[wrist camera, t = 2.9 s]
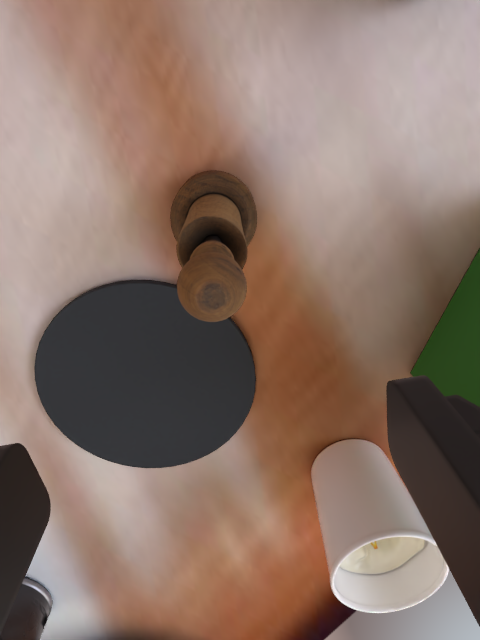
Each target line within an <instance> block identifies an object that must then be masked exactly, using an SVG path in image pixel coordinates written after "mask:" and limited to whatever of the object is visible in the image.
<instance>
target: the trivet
mask: <svg viewBox="0 0 480 640" xmlns="http://www.w3.org/2000/svg"><path fill="white" fill-rule="evenodd" d="M35 381H36V386H37V391H38V394H39V397H40V400H41V402H42V405H43V406H44V408H45V410H46V412H47V414H48V416H49V417H50V418H51V420H52V421H53V422H54V424H55V425H56V426H57V427H58V428H59V429H60V431H61V432H62V433H63V434H64V435H65V436H67V437H68V438H69V439H70V440H71V441H73V442H74V443H75V444H77V445H78V446H80V447H81V448H83V449H84V450H86V451H88V452H90V453H92V454H93V455H95V456H97V457H100V458H102V459H105V460H107V461H111V462H114V463H118V464H121V465H126V466H132V467H141V468H163V467H171V466H177V465H181V464H185V463H188V462H191V461H194V460H197V459H199V458H202V457H204V456H206V455H208V454H210V453H211V452H213V451H215V450H216V449H218V448H219V447H221V446H222V445H223V444H224V443H226V442H227V441H228V440H229V439H230V438H231V437H232V436H233V435H234V434H235V433H236V432H237V430H238V429H239V428H240V426H241V425H242V424H243V422H244V420H245V419H246V417H247V415H248V413H249V411H250V408H251V405H252V402H253V398H254V393H255V383H256V376H255V367H254V361H253V357H252V354H251V350H250V348H249V346H248V343H247V341H246V339H245V337H244V335H243V334H242V332H241V331H240V329H239V327H238V326H237V325H236V324H235V323H234V321H233V320H232V319H231V318H230V317H229V318H227V319H225V320H222V321H218V322H206V321H202V320H199V319H197V318H195V317H193V316H192V315H190V314H189V313H188V312H187V311H186V310H185V309H184V307H183V306H182V304H181V302H180V300H179V297H178V293H177V285H174V284H170V283H166V282H160V281H152V280H129V281H120V282H115V283H111V284H107V285H103V286H100V287H98V288H95V289H92V290H90V291H88V292H86V293H84V294H82V295H81V296H79V297H77V298H75V299H74V300H73V301H72V302H70V303H69V304H68V305H66V306H65V307H64V308H63V309H62V310H61V311H60V312H59V313H58V314H57V315H56V316H55V318H54V319H53V320H52V321H51V323H50V324H49V326H48V327H47V329H46V330H45V332H44V334H43V336H42V338H41V340H40V343H39V346H38V350H37V353H36V359H35Z"/></svg>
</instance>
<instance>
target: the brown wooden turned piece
mask: <svg viewBox="0 0 480 640" xmlns="http://www.w3.org/2000/svg"><path fill="white" fill-rule="evenodd" d="M170 219H171V227H172V231H173V234H174V237H175V239H176V240H177V256H178V260H179V263H180V265H181V267H182V270H181V271H180V274H179V277H178V281H177V293H178V297H179V300H180V302H181V304H182V306H183V307H184V309H185V310H186V311H187V312H188V313H189V314H190V315H192V316H193V317H195V318H197V319H199V320H202V321H206V322H218V321H222V320H225V319H227V318H229V317H231V316H232V315H233V314H235V313H236V312H237V311H238V310H239V308H240V307H241V306H242V304H243V302H244V300H245V297H246V292H247V283H246V278H245V276H244V273H243V271H242V269H243V267H244V265H245V263H246V259H247V246H248V245H249V243H250V241H251V240H252V238H253V236H254V233H255V229H256V224H257V213H256V207H255V204H254V201H253V198H252V195H251V193H250V192H249V190H248V188H247V187H246V186H245V185H244V184H243V182H241V181H240V180H239V179H238V178H237V177H235V176H233V175H231V174H229V173H226V172H222V171H206V172H202V173H199V174H197V175H195V176H194V177H192V178H191V179H189V180H188V181H187V182H186V183H185V184H184V185H183V186H182V188H181V189H180V190H179V192H178V194H177V195H176V197H175V199H174V202H173V205H172V208H171V216H170Z"/></svg>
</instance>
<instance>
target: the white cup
mask: <svg viewBox="0 0 480 640" xmlns="http://www.w3.org/2000/svg"><path fill="white" fill-rule="evenodd" d="M311 480H312V486H313V491H314V497H315V502H316V507H317V513H318V518H319V523H320V528H321V533H322V538H323V544H324V549H325V554H326V559H327V564H328V570H329V575H330V585H331V588H332V591H333V593H334V595H335V596H336V597H337V599H338V600H339V601H340V602H342V603H343V604H344V605H346V606H348V607H350V608H352V609H355V610H358V611H363V612H369V613H386V612H393V611H398V610H402V609H406V608H408V607H411V606H414V605H416V604H418V603H420V602H422V601H424V600H425V599H427V598H428V597H430V596H431V595H432V594H434V593H435V592H436V591H437V590H438V589H439V588H440V587H441V585H442V584H443V583H444V581H445V579H446V577H447V575H448V572H449V567H448V565H447V563H446V562H445V560H444V558H443V556H442V554H441V552H440V550H439V548H438V546H437V544H436V542H435V541H434V539H433V537H432V535H431V533H430V531H429V529H428V527H427V525H426V523H425V522H424V520H423V518H422V516H421V514H420V512H419V510H418V508H417V506H416V504H415V502H414V501H413V499H412V497H411V495H410V493H409V491H408V490H407V488H406V487H405V485H404V483H403V482H402V480H401V478H400V477H399V475H398V473H397V472H396V470H395V469H394V467H393V465H392V464H391V462H390V461H389V459H388V457H387V456H386V454H385V453H384V452H383V451H382V449H381V448H379V447H378V446H377V445H375V444H374V443H372V442H369V441H366V440H361V439H348V440H343V441H339V442H336V443H334V444H332V445H330V446H328V447H327V448H325V449H324V450H323V451H322V452H321V453H320V454H319V455H318V456H317V457H316V459H315V461H314V463H313V465H312V469H311Z"/></svg>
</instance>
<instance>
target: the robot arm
mask: <svg viewBox="0 0 480 640" xmlns="http://www.w3.org/2000/svg"><path fill="white" fill-rule="evenodd" d="M387 427H388V443H389V448H390V452H391V456H392V459H393V461H394V464H395V466H396V468H397V470H398V472H399V474H400V476H401V478H402V480H403V482H404V483H405V485H406V487H407V489H408V491H409V493H410V495H411V497H412V499H413V501H414V502H415V504H416V506H417V508H418V510H419V512H420V514H421V516H422V518H423V520H424V522H425V523H426V525H427V527H428V529H429V531H430V533H431V535H432V537H433V539H434V541H435V542H436V544H437V546H438V548H439V550H440V552H441V554H442V556H443V558H444V560H445V562H446V563H447V565H448V567H449V569H450V571H451V573H452V575H453V577H454V579H455V581H456V582H457V584H458V586H459V588H460V590H461V592H462V594H463V596H464V597H465V600H466V601H467V603H468V605H469V607H470V609H471V611H472V613H473V615H474V617H475V619H476V620H477V622H478V624H479V626H480V407H479V406H477V405H475V404H473V403H471V402H470V401H468V400H466V399H464V398H462V397H461V396H459V395H451V396H444V395H443V394H442V393H441V392H440V390H439V389H438V388H437V387H436V386H435V385H434V383H433V382H432V381H431V380H430V379H429V378H428V377H427V376H425V375H421V376H415V377H410V378H404V379H398V380H392V381H389V382H388V383H387ZM49 517H50V498H49V494H48V492H47V489H46V487H45V485H44V483H43V481H42V479H41V477H40V475H39V473H38V471H37V469H36V467H35V465H34V463H33V461H32V459H31V457H30V455H29V453H28V451H27V450H26V448H25V447H24V446H23V445H22V444H19V443H15V444H9V445H4V446H0V640H40V638H41V637H42V636H41V635H42V632H43V629H44V626H46V625H45V624H46V623H47V622H46V621H47V620H48V619H47V618H48V616H49V614H50V611H51V608H52V598H51V595H50V594H49V592H48V591H47V590H46V589H45V588H44V587H43V586H42V585H40V584H39V583H37V582H35V581H33V580H30V579H28V578H25V575H26V573H27V571H28V568H29V566H30V564H31V561H32V559H33V557H34V554H35V552H36V549H37V547H38V545H39V542H40V540H41V538H42V535H43V533H44V531H45V528H46V526H47V524H48V521H49Z"/></svg>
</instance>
